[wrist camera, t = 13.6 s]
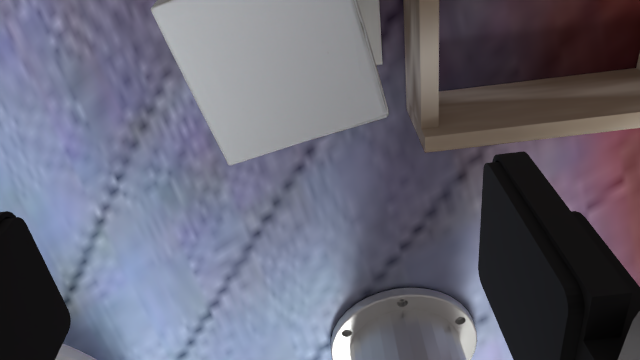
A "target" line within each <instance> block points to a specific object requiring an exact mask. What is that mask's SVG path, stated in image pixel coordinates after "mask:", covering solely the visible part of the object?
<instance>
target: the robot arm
mask: <svg viewBox="0 0 640 360" xmlns="http://www.w3.org/2000/svg"><path fill="white" fill-rule="evenodd" d="M478 270H479V277H480V281H481V284H482V287H483V289H484V291H485V294H486V296H487V298H488V301H489V303H490V305H491V308H492V310H493V313H494V315H495V317H496V320H497V322H498V324H499V327H500V329H501V331H502V334H503V336H504V338H505V341H506V343H507V345H508V348H509V350H510V352H511V355H512V357H513V359H514V360H640V287H639V286H638V284H637V283H636V282H635V281H634V279H633V278H632V277H631V276H630V274H629V273H628V272H627V270H626V269H625V268H624V267H623V265H622V264H621V263H620V261H619V260H618V259H617V258H616V256H615V255H614V254H613V253H612V251H611V250H610V249H609V247H608V246H607V245H606V244H605V242H604V241H603V240H602V238H601V237H600V236H599V235H598V233H597V232H596V231H595V230H594V228H593V227H592V226H591V224H590V223H589V222H588V221H587V219H586V218H585V217H584V216H583V215H582V214H581V213H579V212H576V211H573V212H571V211H570V210H569V208H568V207H567V206H566V204H565V203H564V202H563V200H562V199H561V198H560V196H559V195H558V194H557V192H556V191H555V190H554V188H553V187H552V186H551V184H550V183H549V182H548V180H547V179H546V178H545V176H544V175H543V174H542V173H541V171H540V170H539V169H538V167H537V166H536V165H535V163H534V162H533V161H532V159H531V158H530V157H529V155H528V154H527V153H526V152H516V153H507V154H499V155H495V156H494V158H493V162H492V163H486V164H485V166H484V172H483V190H482V208H481V227H480V245H479V263H478ZM69 328H70V313H69V311H68V309H67V307H66V305H65V302H64V300H63V298H62V296H61V294H60V292H59V290H58V288H57V286H56V284H55V282H54V280H53V278H52V276H51V274H50V272H49V270H48V268H47V266H46V264H45V262H44V260H43V258H42V256H41V254H40V251H39V249H38V247H37V245H36V243H35V241H34V239H33V237H32V235H31V233H30V231H29V229H28V227H27V225H26V223H25V222H24V220H23V219H21V218H19V217H16V216H15V215H14V214H13V213H11V212H8V211H7V212H0V360H55V359H56V356H57V354H58V352H59V350H60V348H61V346H62V344H63V342H64V339H65V337H66V335H67V333H68V331H69ZM476 344H477V332H476V328H475V326H474V323H473V320H472V318H471V316H470V314H469V312H468V311H467V310H466V308H465V307H464V306H463V305H462V304H461V303H460V302H458V301H457V300H455V299H454V298H452V297H451V296H448V295H446V294H444V293H441V292H439V291H434V290H430V289H425V288H398V289H393V290H388V291H383V292H380V293H377V294H375V295H372V296H369V297H367V298H366V299H364V300H362V301H360V302H358V303H357V304H355V305H354V306H353V307H352V308H350V309H349V310H348V311H346V313H345V314H344V315H343V316H342V317H341V318H340V320H339V321H338V323H337V324H336V326H335V328H334V330H333V334H332V337H331V354H332V360H471V358H472V356H473V354H474V352H475V349H476Z"/></svg>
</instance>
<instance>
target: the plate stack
mask: <svg viewBox="0 0 640 360" xmlns="http://www.w3.org/2000/svg"><path fill="white" fill-rule="evenodd" d="M55 360H96V359H95V358H93V357H91V356H89V355H87V354H85V353H83V352H81V351H79V350H77V349H75V348H73V347H70V346H68V345H65V344H62V346H61V348H60V350H59V352H58V354H57V356H56V359H55Z"/></svg>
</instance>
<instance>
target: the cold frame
mask: <svg viewBox="0 0 640 360" xmlns="http://www.w3.org/2000/svg"><path fill="white" fill-rule="evenodd" d="M403 5H404V39H405V73H406V107H407V111H408V114H409V116H410V119H411V121H412V123H413V126H414V128H415V130H416V133H417V135H418V137H419V140H420V142H421V145H422V147H423V149H424V152H425V153H427V152H436V151H444V150H453V149H462V148H470V147H479V146H487V145H496V144H504V143H513V142H521V141H530V140H539V139H547V138H556V137H564V136H573V135H581V134H590V133H599V132H607V131H616V130H624V129H633V128H640V52H639V57H638V62H637V67H636V68H631V69H623V70H615V71H606V72H598V73H589V74H581V75H573V76H564V77H556V78H548V79H539V80H531V81H523V82H514V83H506V84H497V85H489V86H481V87H472V88H464V89H456V90H447V91H439V0H403Z"/></svg>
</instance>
